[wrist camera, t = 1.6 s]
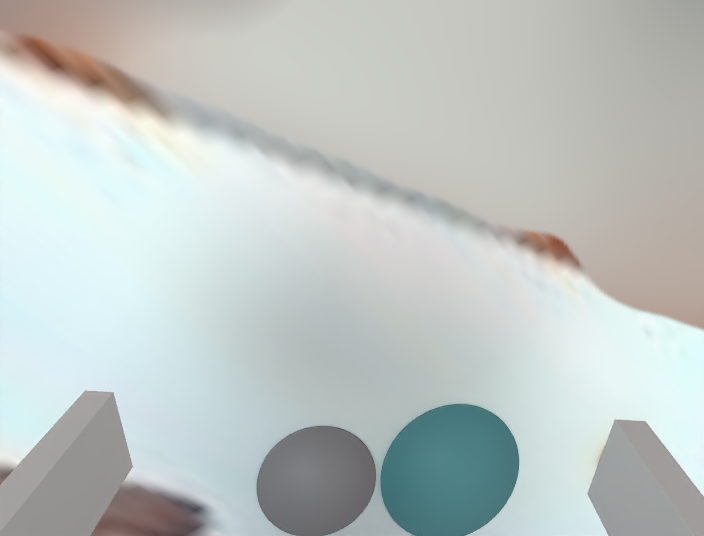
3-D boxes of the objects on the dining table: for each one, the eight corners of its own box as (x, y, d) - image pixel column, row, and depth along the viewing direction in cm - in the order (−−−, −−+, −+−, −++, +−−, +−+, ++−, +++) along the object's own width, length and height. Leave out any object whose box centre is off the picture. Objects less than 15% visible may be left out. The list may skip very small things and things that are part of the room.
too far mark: (371, 530, 38) (372, 531, 38) (255, 540, 36) (255, 542, 36) (378, 423, 37) (379, 424, 36) (258, 428, 35) (258, 430, 35)
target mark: (510, 532, 41) (511, 533, 40) (376, 544, 38) (376, 546, 38) (525, 402, 39) (526, 403, 39) (385, 406, 36) (386, 408, 36)
